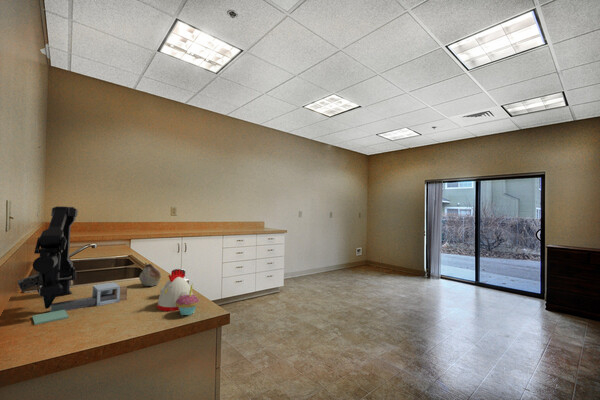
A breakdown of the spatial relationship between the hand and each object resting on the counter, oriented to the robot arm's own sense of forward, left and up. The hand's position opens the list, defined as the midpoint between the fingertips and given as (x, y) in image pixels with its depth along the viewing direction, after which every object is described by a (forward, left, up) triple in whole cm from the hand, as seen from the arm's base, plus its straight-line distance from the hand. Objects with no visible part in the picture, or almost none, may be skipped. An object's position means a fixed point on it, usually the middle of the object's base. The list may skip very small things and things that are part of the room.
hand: (47, 308), depth 105 cm
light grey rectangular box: (+12, +44, -2) cm, 46 cm away
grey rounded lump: (-13, +41, -2) cm, 43 cm away
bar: (+1, +11, -2) cm, 11 cm away
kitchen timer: (+24, +38, -2) cm, 45 cm away
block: (+1, +24, -2) cm, 24 cm away
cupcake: (+36, +37, -2) cm, 52 cm away
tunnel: (0, +19, -2) cm, 19 cm away
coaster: (+7, 0, -2) cm, 7 cm away
